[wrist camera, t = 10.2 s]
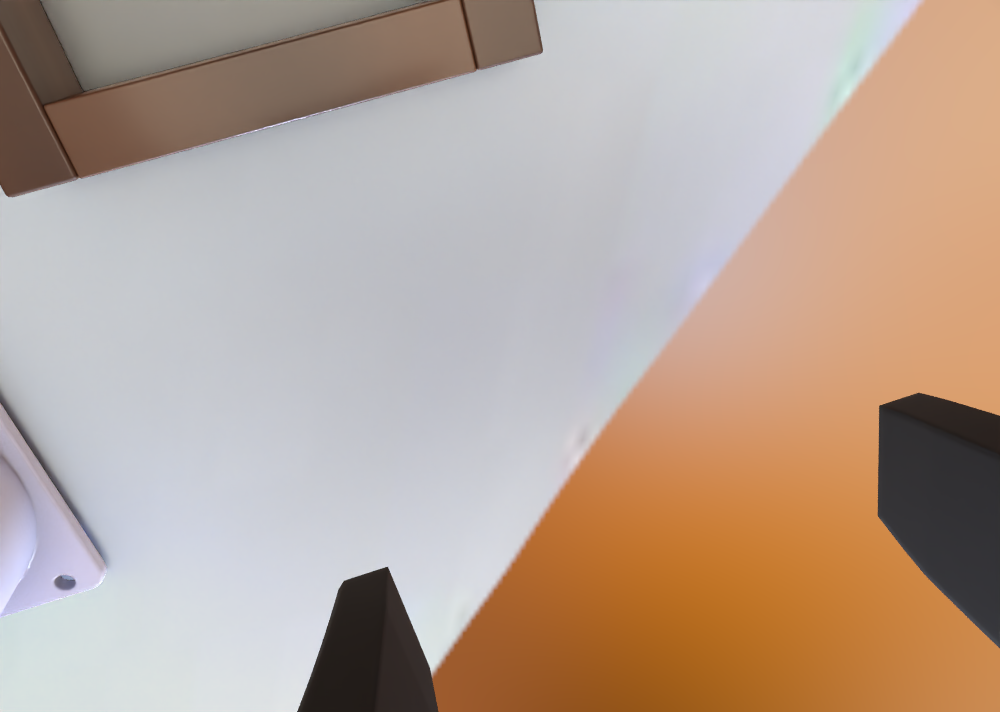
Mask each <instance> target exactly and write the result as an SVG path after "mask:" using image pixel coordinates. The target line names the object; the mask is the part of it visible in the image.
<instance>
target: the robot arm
mask: <svg viewBox="0 0 1000 712" xmlns="http://www.w3.org/2000/svg"><path fill="white" fill-rule="evenodd" d="M878 517H879V518H880V519H881V521H882V522H883V523H884V524H885V526H886V527H887V528H888V530H889V531H890V532H891V533H892V535H893V536H894V537H895V539H896V540H897V541H898V543H899V544H900V545H901V546H902V547H903V549H904V550H905V551H906V552H907V554H908V555H909V556H910V557H911V559H912V560H913V561H914V562H915V563H916V565H917V566H918V567H919V568H920V570H921V571H922V572H923V573H924V574H925V575H926V576H927V577H928V578H929V579H930V580H931V581H932V582H933V583H934V585H935V586H937V588H938V589H939V590H941V591H942V593H944V594H945V595H946V596H947V597H948V598H949V599H950V600H951V601H952V602H953V603H954V604H955V605H956V606H957V607H958V608H959V609H960V610H961V611H962V612H963V613H964V614H965V615H966V616H967V617H968V618H969V619H970V620H971V621H972V622H973V623H974V624H975V625H976V626H977V627H978V628H979V629H980V630H981V631H982V632H983V633H984V634H985V635H987V636H988V637H989V638H990V639H991V640H992V641H993V642H994V643H995V644H996V645H997V646H998V647H999V648H1000V416H999V415H995V414H992V413H989V412H986V411H982V410H979V409H976V408H972V407H969V406H966V405H963V404H959V403H956V402H952V401H949V400H945V399H941V398H938V397H934V396H930V395H926V394H922V393H917V394H914V395H911V396H908V397H904V398H901V399H898V400H895V401H892V402H889V403H886V404H883V405H880V406H879V467H878ZM106 570H107V567H106V564H105V562H104V561H103V559H102V557H101V556H100V554H99V553H98V551H97V550H96V548H95V547H94V545H93V544H92V542H91V541H90V539H89V538H88V536H87V535H86V533H85V532H84V530H83V529H82V527H81V525H80V524H79V522H78V521H77V519H76V518H75V516H74V515H73V513H72V512H71V510H70V509H69V507H68V506H67V504H66V503H65V501H64V500H63V498H62V496H61V495H60V493H59V492H58V490H57V489H56V487H55V486H54V484H53V483H52V481H51V480H50V478H49V477H48V475H47V474H46V472H45V471H44V469H43V467H42V466H41V464H40V463H39V461H38V460H37V458H36V457H35V455H34V454H33V452H32V451H31V449H30V448H29V446H28V445H27V443H26V442H25V440H24V438H23V437H22V435H21V434H20V432H19V431H18V429H17V428H16V426H15V425H14V423H13V422H12V420H11V419H10V417H9V416H8V414H7V413H6V411H5V409H4V408H3V406H2V405H1V403H0V617H3V616H7V615H10V614H13V613H16V612H19V611H23V610H26V609H29V608H32V607H35V606H39V605H42V604H45V603H48V602H51V601H55V600H58V599H61V598H64V597H67V596H71V595H74V594H77V593H80V592H83V591H87V590H90V589H93V588H95V587H97V586H99V585H100V583H101V582H102V581H103V579H104V576H105V574H106ZM61 575H68V576H71V577H72V578H73V579H75V580H67V579H64V578H62V577H61ZM297 712H438V707H437V702H436V697H435V692H434V687H433V682H432V677H431V671H430V667H429V665H428V662H427V660H426V658H425V655H424V653H423V650H422V648H421V646H420V643H419V641H418V638H417V636H416V633H415V631H414V629H413V626H412V624H411V621H410V619H409V617H408V614H407V612H406V609H405V607H404V605H403V602H402V600H401V597H400V595H399V593H398V590H397V588H396V585H395V583H394V581H393V578H392V576H391V573H390V571H389V569H388V567H385V568H382V569H379V570H376V571H373V572H370V573H367V574H364V575H361V576H358V577H355V578H351V579H348V580H345V581H344V582H343V583H342V585H341V587H340V588H339V590H338V593H337V597H336V600H335V604H334V607H333V610H332V613H331V617H330V620H329V623H328V626H327V630H326V633H325V636H324V639H323V642H322V645H321V648H320V651H319V654H318V657H317V660H316V662H315V665H314V668H313V671H312V674H311V677H310V680H309V682H308V685H307V688H306V690H305V693H304V695H303V698H302V701H301V703H300V706H299V709H298V711H297Z"/></svg>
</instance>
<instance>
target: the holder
mask: <svg viewBox="0 0 1000 712" xmlns="http://www.w3.org/2000/svg"><path fill="white" fill-rule="evenodd" d="M542 52H543V47H542V42H541V37H540V31H539V26H538V21H537V15H536V10H535V5H534V0H430V1H426V2H422V3H419V4H415V5H411V6H407V7H403V8H400V9H396V10H392V11H388V12H384V13H381V14H377V15H373V16H369V17H366V18H362V19H358V20H354V21H350V22H347V23H343V24H339V25H335V26H331V27H328V28H324V29H320V30H316V31H312V32H309V33H305V34H301V35H297V36H294V37H290V38H286V39H282V40H278V41H275V42H271V43H267V44H263V45H259V46H256V47H252V48H248V49H244V50H240V51H237V52H233V53H229V54H225V55H222V56H218V57H214V58H210V59H206V60H203V61H199V62H195V63H191V64H187V65H184V66H180V67H176V68H172V69H168V70H165V71H161V72H157V73H153V74H150V75H146V76H142V77H138V78H134V79H131V80H127V81H123V82H119V83H115V84H112V85H108V86H104V87H100V88H96V89H93V90H89V91H85V92H83V91H82V89H81V87H80V85H79V83H78V81H77V78H76V76H75V74H74V72H73V70H72V68H71V66H70V64H69V62H68V60H67V58H66V55H65V53H64V51H63V49H62V47H61V45H60V43H59V41H58V39H57V37H56V34H55V32H54V30H53V28H52V26H51V24H50V22H49V20H48V18H47V16H46V14H45V11H44V9H43V7H42V5H41V3H40V1H39V0H0V185H1V187H2V189H3V191H4V193H5V194H6V195H7V196H8V197H15V196H19V195H23V194H26V193H30V192H34V191H38V190H41V189H45V188H49V187H52V186H56V185H60V184H63V183H67V182H71V181H74V180H77V179H78V178H86V177H90V176H94V175H97V174H101V173H105V172H108V171H112V170H116V169H119V168H123V167H127V166H130V165H134V164H138V163H141V162H145V161H149V160H152V159H156V158H160V157H163V156H167V155H171V154H174V153H178V152H182V151H185V150H189V149H193V148H196V147H200V146H204V145H207V144H211V143H215V142H218V141H222V140H226V139H229V138H233V137H237V136H240V135H244V134H248V133H251V132H255V131H259V130H263V129H266V128H270V127H274V126H277V125H281V124H285V123H288V122H292V121H296V120H299V119H303V118H307V117H310V116H314V115H318V114H321V113H325V112H329V111H332V110H336V109H340V108H343V107H347V106H351V105H354V104H358V103H362V102H365V101H369V100H373V99H376V98H380V97H384V96H387V95H391V94H395V93H398V92H402V91H406V90H409V89H413V88H417V87H420V86H424V85H428V84H431V83H435V82H439V81H442V80H446V79H450V78H454V77H457V76H461V75H465V74H468V73H472V72H475V71H476V70H483V69H486V68H490V67H494V66H497V65H501V64H505V63H508V62H512V61H516V60H519V59H523V58H527V57H530V56H534V55H538V54H541V53H542Z"/></svg>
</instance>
